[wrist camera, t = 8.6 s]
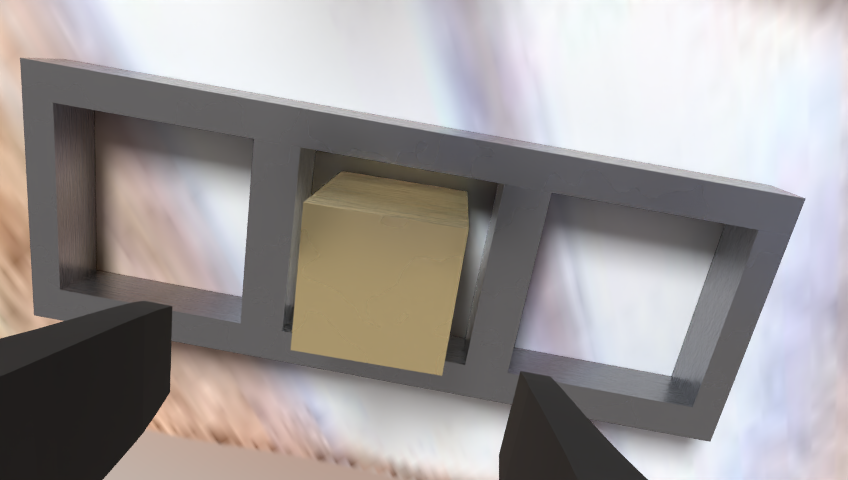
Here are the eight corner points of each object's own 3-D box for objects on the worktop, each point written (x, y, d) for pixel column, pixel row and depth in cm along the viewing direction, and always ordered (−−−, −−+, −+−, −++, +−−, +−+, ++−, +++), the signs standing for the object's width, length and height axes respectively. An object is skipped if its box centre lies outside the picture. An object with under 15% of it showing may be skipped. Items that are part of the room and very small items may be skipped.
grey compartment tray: (770, 185, 18) (805, 198, 17) (687, 408, 21) (710, 441, 19) (65, 59, 19) (20, 57, 17) (71, 293, 22) (34, 315, 20)
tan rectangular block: (467, 190, 19) (468, 229, 15) (446, 305, 21) (441, 375, 16) (342, 170, 19) (303, 202, 15) (330, 286, 21) (290, 350, 16)
